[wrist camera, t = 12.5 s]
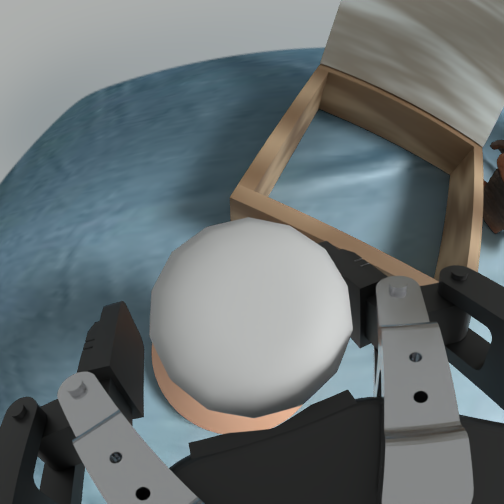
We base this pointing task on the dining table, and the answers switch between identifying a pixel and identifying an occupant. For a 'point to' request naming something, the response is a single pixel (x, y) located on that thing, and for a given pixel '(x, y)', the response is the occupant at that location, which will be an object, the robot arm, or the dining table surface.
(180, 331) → the salt shaker
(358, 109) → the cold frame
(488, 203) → the pottery mug
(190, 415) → the terracotta saucer
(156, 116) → the dining table surface
